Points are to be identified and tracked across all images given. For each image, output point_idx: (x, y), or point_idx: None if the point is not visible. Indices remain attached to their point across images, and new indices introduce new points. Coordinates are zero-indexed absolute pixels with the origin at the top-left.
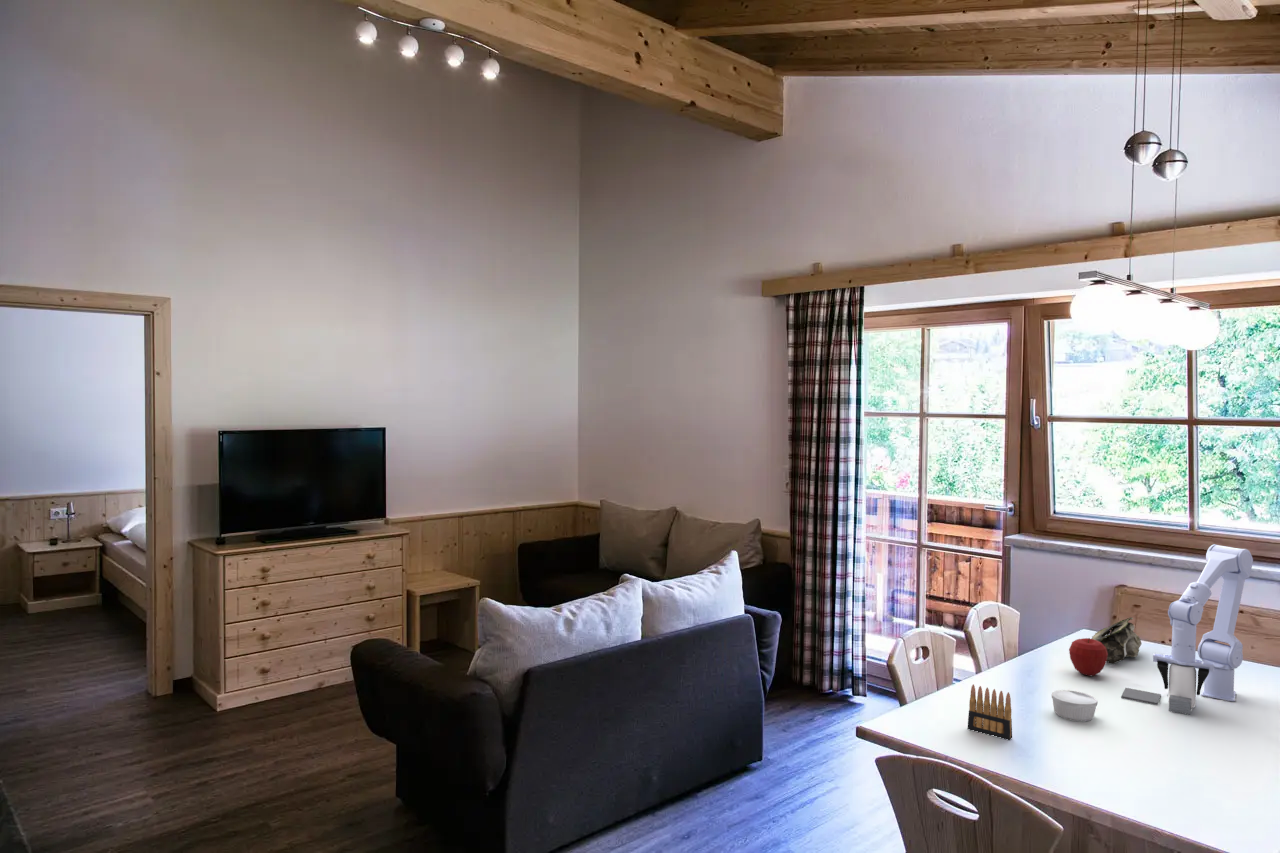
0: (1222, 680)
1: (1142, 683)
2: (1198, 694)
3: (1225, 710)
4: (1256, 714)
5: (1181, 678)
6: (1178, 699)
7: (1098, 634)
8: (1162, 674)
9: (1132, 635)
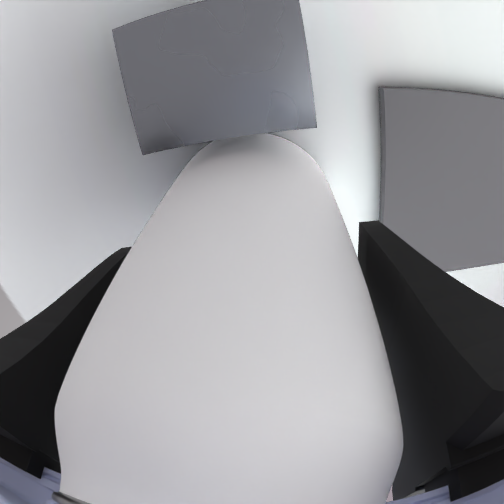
0: None
1: None
2: (123, 250)
3: (87, 273)
4: (29, 298)
5: (191, 271)
6: (217, 27)
7: None
8: (468, 295)
9: None
